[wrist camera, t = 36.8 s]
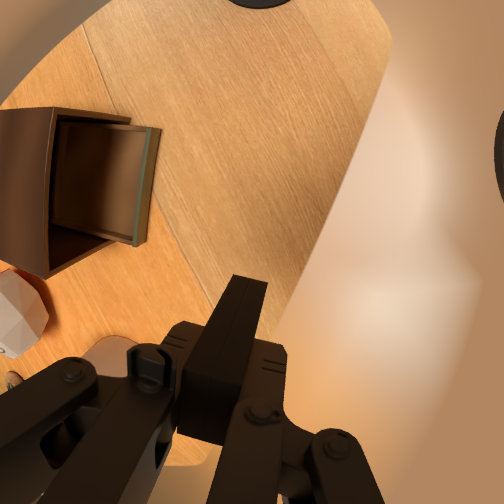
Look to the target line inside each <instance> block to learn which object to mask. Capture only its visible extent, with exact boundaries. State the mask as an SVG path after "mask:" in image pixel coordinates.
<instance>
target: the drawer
mask: <svg viewBox="0 0 504 504" xmlns="http://www.w3.org/2000/svg"><path fill="white" fill-rule="evenodd" d="M160 131H161V129H158V128H152V127H142V126H131V125H118V124H104V123H86V122H60V127H59V133H58V141H57V149H56V158H55V168H54V181H53V198H52V224H55V225H59V226H62V227H66V228H69V229H73V230H77V231H80V232H84V233H88V234H91V235H95V236H99V237H102V238H106V239H110V240H113V241H117V242H121V243H125V244H128V245H132V246H133V247H138V246H139V245H141V244H143V243H144V242H145V240H146V229H147V220H148V211H149V203H150V195H151V187H152V180H153V173H154V166H155V160H156V154H157V148H158V142H159V136H160Z"/></svg>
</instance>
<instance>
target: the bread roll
mask: <svg viewBox="0 0 504 504" xmlns="http://www.w3.org/2000/svg"><path fill="white" fill-rule="evenodd" d="M21 382H23V380H22V379H21V377H19V375H17V374H16V373H14V372H13V371H12V372H8V373H6V375H5V383H6V387H7V389H8V390H10V389H11V388H13V387H15V386H16V385H18V384H20V383H21Z"/></svg>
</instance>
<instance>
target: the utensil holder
mask: <svg viewBox="0 0 504 504" xmlns="http://www.w3.org/2000/svg"><path fill="white" fill-rule="evenodd" d="M135 345H138V344H137V343H135V342H133V341H132V340H129V339H127V338H124V337H120V336H108V337H105V338H103V339H101V340H100V341H99V342H98V343H96V344H95V345H94V346H93V347H92V348H91V349H90V350H88V351H87V352H86V353H85V354H84V355H83V356H82V357H80V358H83V359H85V360H87V361H89V362H91V363H92V364H93V365H94V367H95V369H96V372H97V374H98V375H105V376H111V377H126V376H127V350H128V349H130V348H131V347H132V346H135Z"/></svg>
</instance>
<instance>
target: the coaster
mask: <svg viewBox="0 0 504 504" xmlns="http://www.w3.org/2000/svg"><path fill="white" fill-rule="evenodd" d="M229 1H231V2H233V3H235V4H237V5H239V6H242V7H247V8H254V9H264V8H271V7H276V6H279V5H282V4H284V3H286V2H288V1H290V0H229Z"/></svg>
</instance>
